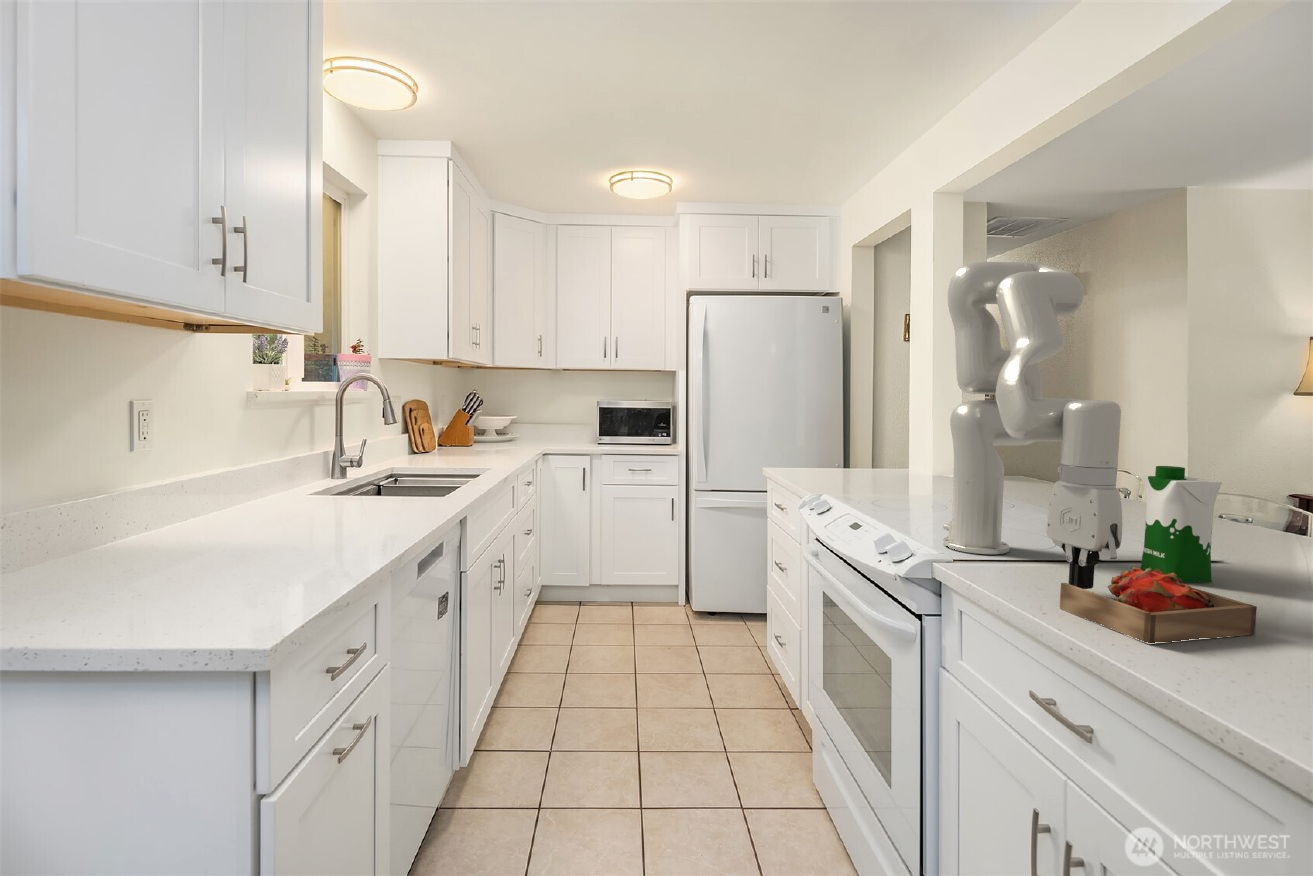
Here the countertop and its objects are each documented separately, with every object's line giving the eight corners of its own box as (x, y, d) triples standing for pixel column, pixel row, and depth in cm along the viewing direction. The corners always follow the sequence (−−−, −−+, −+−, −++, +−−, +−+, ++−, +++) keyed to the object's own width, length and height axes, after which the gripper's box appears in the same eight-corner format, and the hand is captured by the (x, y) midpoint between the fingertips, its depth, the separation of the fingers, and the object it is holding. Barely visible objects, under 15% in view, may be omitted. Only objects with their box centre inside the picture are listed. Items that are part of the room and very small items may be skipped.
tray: (1059, 608, 92) (1061, 583, 92) (1153, 601, 96) (1155, 576, 96) (1149, 645, 79) (1151, 615, 79) (1254, 635, 82) (1256, 606, 82)
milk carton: (1131, 569, 114) (1137, 464, 112) (1180, 570, 113) (1187, 464, 112) (1169, 584, 105) (1177, 470, 103) (1222, 584, 105) (1231, 470, 103)
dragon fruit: (1097, 621, 92) (1200, 651, 85) (1107, 602, 85) (1219, 634, 79) (1107, 570, 95) (1207, 596, 88) (1117, 549, 88) (1226, 575, 82)
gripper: (1030, 471, 104) (1024, 575, 105) (1111, 484, 89) (1103, 605, 91) (1067, 470, 105) (1061, 572, 107) (1152, 483, 91) (1144, 601, 92)
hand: (1080, 587), depth 99 cm, fingers closed
